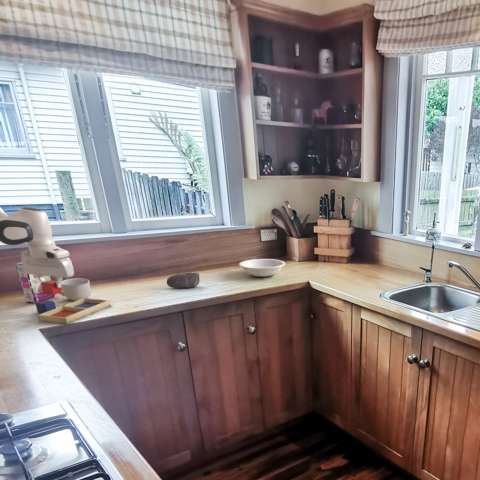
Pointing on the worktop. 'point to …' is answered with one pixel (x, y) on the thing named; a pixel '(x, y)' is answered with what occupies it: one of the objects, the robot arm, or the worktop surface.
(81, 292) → the teacup
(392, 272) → the worktop surface
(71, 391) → the worktop surface
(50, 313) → the tray
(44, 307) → the navy block
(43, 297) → the candy bar box
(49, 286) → the red block
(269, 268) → the soup bowl
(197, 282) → the perforated stone tool
